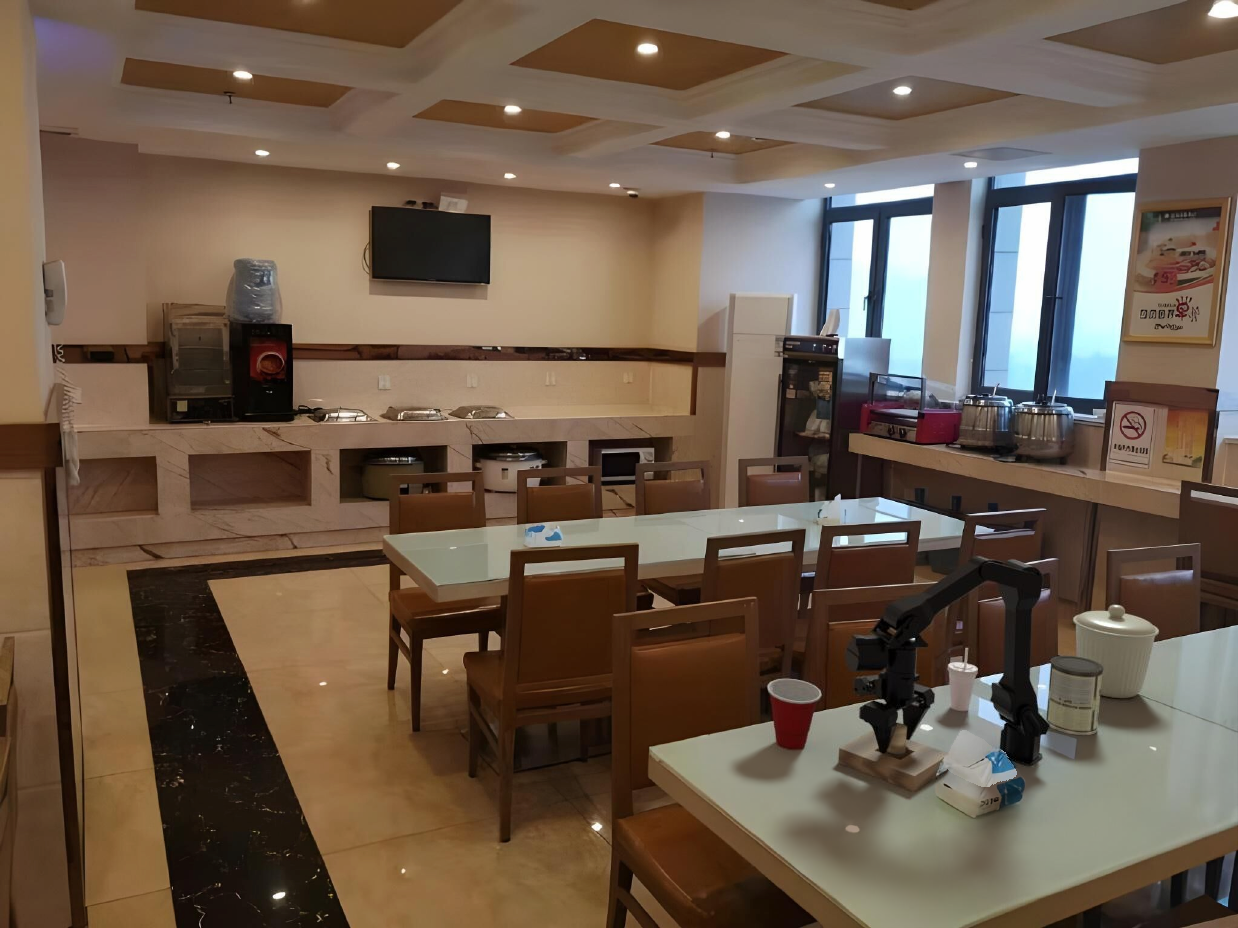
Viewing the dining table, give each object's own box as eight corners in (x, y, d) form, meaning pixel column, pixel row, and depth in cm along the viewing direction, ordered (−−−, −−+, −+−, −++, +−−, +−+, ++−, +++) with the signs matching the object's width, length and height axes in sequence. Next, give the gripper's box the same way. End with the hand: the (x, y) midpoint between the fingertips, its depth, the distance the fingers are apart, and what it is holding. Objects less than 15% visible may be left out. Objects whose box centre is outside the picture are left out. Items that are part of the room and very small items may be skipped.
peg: (908, 765, 187) (911, 726, 186) (897, 772, 184) (900, 732, 183) (889, 758, 190) (891, 719, 189) (878, 764, 187) (880, 725, 186)
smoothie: (978, 713, 213) (983, 653, 212) (949, 713, 214) (954, 652, 212) (969, 702, 220) (973, 643, 218) (940, 702, 220) (945, 643, 218)
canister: (1073, 699, 224) (1081, 611, 221) (1062, 673, 241) (1069, 591, 238) (1160, 709, 219) (1169, 619, 216) (1142, 682, 236) (1150, 599, 233)
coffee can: (1038, 715, 214) (1043, 654, 212) (1086, 717, 213) (1092, 656, 211) (1054, 733, 204) (1060, 670, 202) (1105, 737, 203) (1111, 672, 201)
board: (949, 768, 186) (950, 753, 185) (913, 791, 176) (914, 775, 176) (875, 742, 197) (876, 728, 197) (838, 762, 187) (839, 747, 187)
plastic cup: (787, 760, 188) (790, 701, 186) (753, 739, 197) (756, 683, 195) (830, 749, 193) (833, 692, 191) (795, 729, 202) (797, 675, 201)
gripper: (887, 647, 196) (882, 720, 198) (836, 668, 183) (832, 746, 185) (938, 661, 188) (933, 737, 190) (889, 684, 175) (884, 765, 177)
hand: (895, 745), depth 186 cm, fingers open, 9 cm apart
